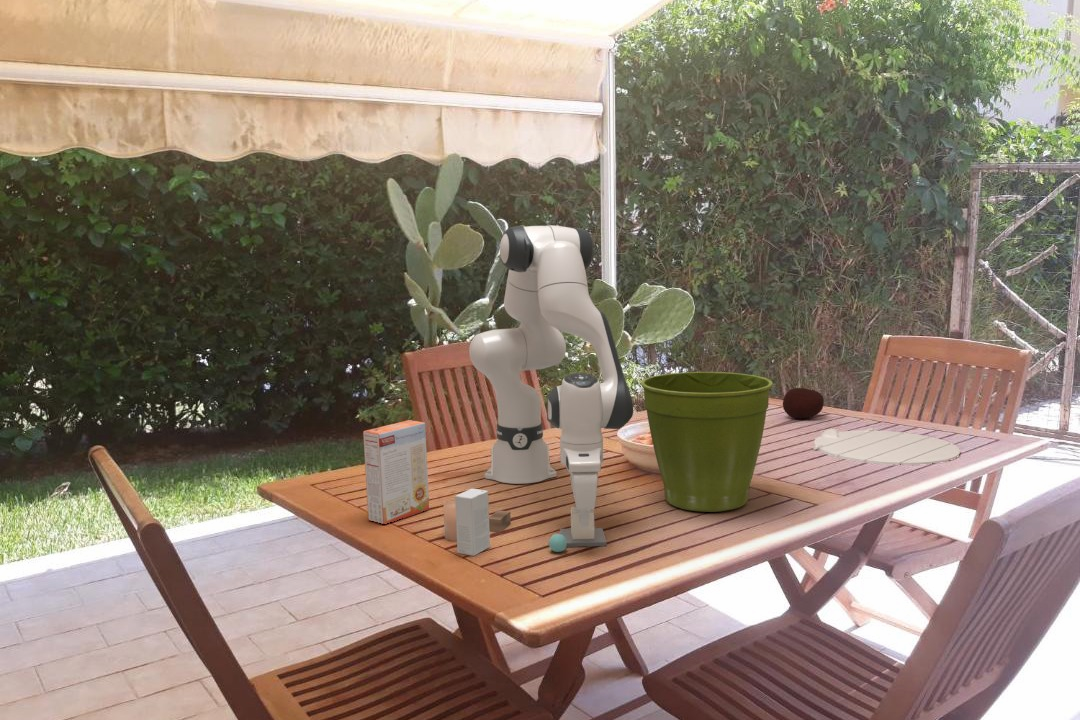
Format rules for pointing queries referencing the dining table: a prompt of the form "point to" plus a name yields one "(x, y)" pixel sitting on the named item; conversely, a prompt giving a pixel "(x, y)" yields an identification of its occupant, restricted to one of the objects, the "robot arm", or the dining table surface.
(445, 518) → the tan domed cylinder
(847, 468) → the dining table surface
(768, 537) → the dining table surface
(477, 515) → the skincare box
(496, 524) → the walnut block
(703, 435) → the plant pot
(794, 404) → the dark brown rounded lump
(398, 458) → the cracker box
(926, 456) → the lazy susan
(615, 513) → the dining table surface
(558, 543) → the teal ball
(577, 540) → the slate coaster
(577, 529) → the cream block
